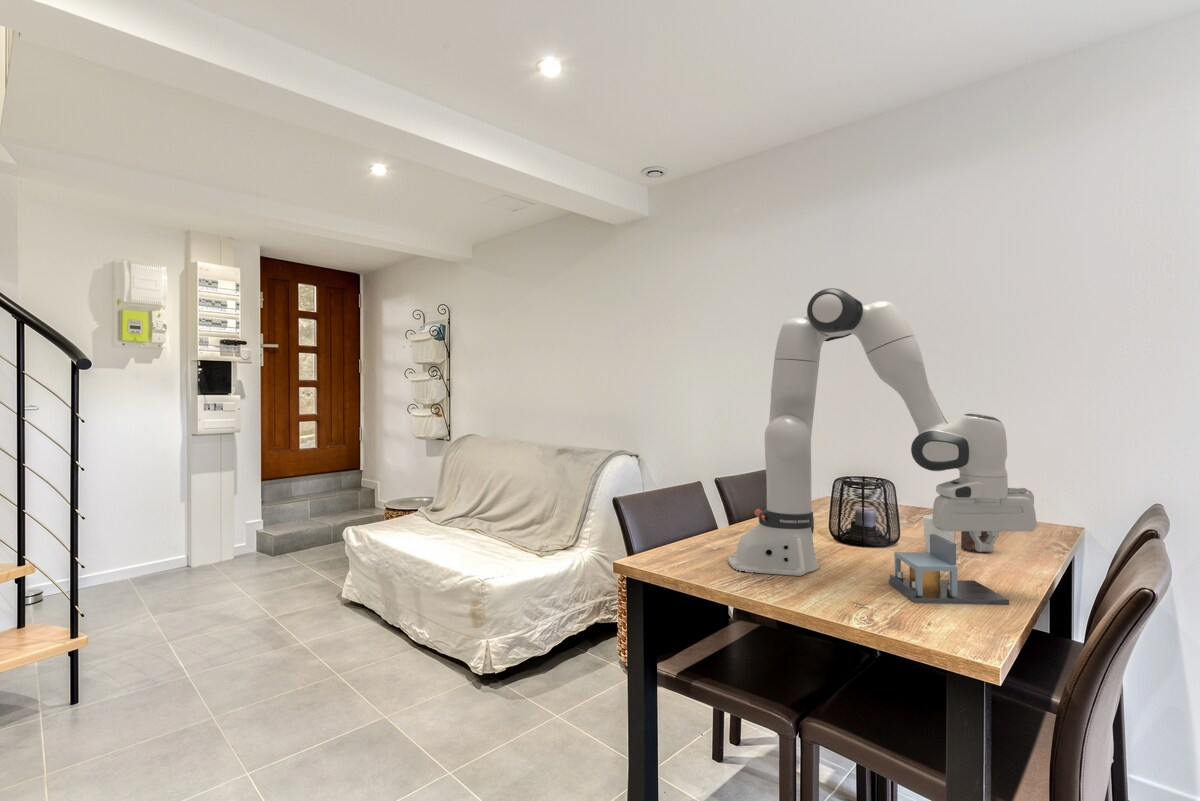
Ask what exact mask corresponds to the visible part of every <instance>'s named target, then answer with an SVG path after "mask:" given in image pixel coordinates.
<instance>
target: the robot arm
mask: <svg viewBox="0 0 1200 801" xmlns="http://www.w3.org/2000/svg"><path fill="white" fill-rule="evenodd" d="M806 314H807V315H806V316H804V317H794V318H790V319H788V320H786V321H785V322H784V323H782V325H781V327H780V330H779V334H778V338H777V341H776V345H775V350H774V351H775V352H774V358H773V359H774V360H773V368H772V377H771V378H772V379H771V386H770V387H771V389H770V403H769V404H770V407H769V408H770V409H769V420H768V424H767V426H766V427H765V432H764V456H765V457H764V458H765V473H766V474H765V476H766V508H765V509H764V510H761V509H760V508H757V509H755V510H754V515H755V516H756V517H757V518H758V524H757V525H756V526H754V527H752V528H751V529H750V530H748V531H747V532H746V533H744V534H743V535H742V536H741V537H740V538H739V540H738V542H737V547H736V553H731V554H730V555H728V559H727V562H729V563H728V564H730V565H731V566H732V567H733V568H732V567H731V566H730V565H729V566H730V567H731V568H732V569H734V568H735V569H736V570H735V569H734V570H735V571H738V570H739V572H741V571H745V572H744V573H754V572H755V573H757V574H768V575H769V574H771V575H783V576H796V577H797V576H804V575H805V574H807V573H811V572H815V571H817V570H818V569H819V568H820V566H819V563H818V560H817V556H816V551H815V546H814V537H813V536H814V529H815V517H814V516H815V515H814V512H813V511H812V508H813V507H812V433H813V423H814V413H815V406H816V405H815V403H816V397H817V396H816V395H817V387H818V386H817V385H818V376H819V367H820V361H821V360H820V359H821V357H820V356H821V351H822V346H823V343H824V342H830V341H835V340H838V339H843V338H846V337H849V336H851V335H854V336H855V337H856V338H857V339H858V341H860V344H861V345H862V348H863V351H864V353H865V356H866V357H867V360H868V362H869V363H870V366H871V368H872V369H873V370H874V372H875V373H876V375H877V376H878V378H879V379H880V380H881V381H882V382H883V383H885V384H886V385H888V386H889V387H890V388H892V389H893V390H894V391H895V392H897V394H899V396H900V397H901V398H902V400H903V402H904V403H905V406H906V407H907V409H908V412H909V414H910V416H911V418H912V421H913V423H914V425H915V426H916V429H917V433H918V435H917V436H916V437H914V439H913V441H912V443H911V445H910V446H911V448H910V453H911V457H912V458H913V461H914V462H915V463H916V464H917V465H918V466H919V467H921V468H923V469H924V470H928V471H932V472H943V471H947V470H954V469H956V470H958V471H959V472H958V473H959V477H957V478H955V479H952V480H950V481H949V480H948V481H945V482H942V483H939V484H937V485H936V487H935V492H936V493H937V495H938V496H936V497H935V499H934V501H933V505H932V515H933V517H932V520H933V525H934V526H935V527H936V528H937V529H939V530H941V531H956V532H962V531H969V534H970V536H971V537H972V539H973V541H974V542H975V550H976V551H975V552H977V551H978V552H980V553H981V552H982V553H985V552H986V553H987V552H988V553H989V552H990V553H993V552H994V544H995V543H996V541H998V539H999V536H1000V532H1034V531H1035V530H1036V528H1037V523H1038V522H1037V515H1036V510H1035V506H1034V505H1035V495H1034V493H1033V492H1032V491H1031V490H1028V489H1027V488H1024V487H1019V488H1017V487H1008V485H1009V482H1008V471H1007V468H1006V461H1007V457H1008V441H1007V434H1006V429H1005V425H1004V424H1003V422H1002V421H1001V420H999V419H998V418H996V417H994V416H990V415H986V414H985V415H984V414H978V413H977V414H976V413H964V414H963V415H961V416H960V417H958V418H956V419H955V420H952V421H951V422H948V421H947V420H946V418H945V416H944V414H943V413H942V410H941V409H940V407H939V404H938V402H937V400H936V397H935V396H934V394H933V392H932V389H931V387H930V384H929V382H928V376H927V373H926V368H925V365H924V359H923V355H922V352H921V349H920V346H919V343H918V341H917V339H916V337H915V335H914V333H913V331H912V329H911V326H910V325H909V323H908V320H906V318H905V316H904V315H903V314H902V312H901V310H900V309H899V308H898V307H897V306H896V305H895V304H894V303H893V302H892V301H889V300H888V301H887V300H879V301H874V302H871V303H868V304H863V303H862V301H860V300H859V299H857V298H855V297H854V296H852V295H851V294H849V293H848V292H846V291H845V290H843V289H840V288H834V287H831V288H828V287H827V288H824V289H821V290H820V291H818V292H816V293H815V294H814V295H813V296H812V297H810V300H809V302H808V304H807V308H806ZM981 531H987V534H988V535H989V536H988V538H987V540H986V542H981V540H980V538H979V537H978V536H981Z"/></svg>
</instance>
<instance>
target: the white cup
mask: <svg viewBox="0 0 1200 801" xmlns="http://www.w3.org/2000/svg"><path fill="white" fill-rule="evenodd" d="M932 517H933V514H925V515H923V517H922V518H923V520H922V521H923V534H924V542H925V552H930V534H936V535H938V536H940V537H942V538H944V539H946V540H949V541H951V542H953V543H955V544H956V534H957V533H956V532H957V531H941V530H939V529H937V528H936V527H935V526H934V525H933V520H932Z"/></svg>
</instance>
